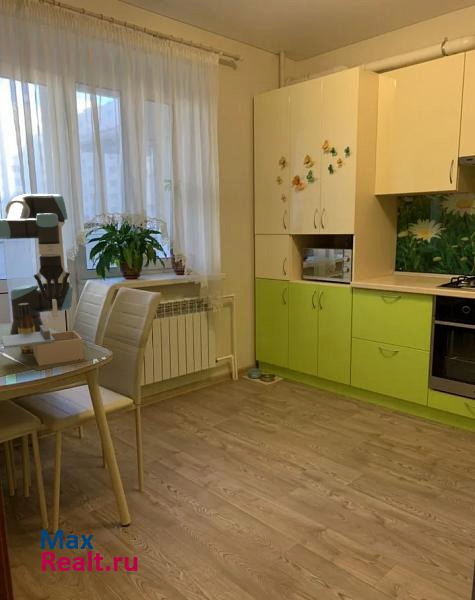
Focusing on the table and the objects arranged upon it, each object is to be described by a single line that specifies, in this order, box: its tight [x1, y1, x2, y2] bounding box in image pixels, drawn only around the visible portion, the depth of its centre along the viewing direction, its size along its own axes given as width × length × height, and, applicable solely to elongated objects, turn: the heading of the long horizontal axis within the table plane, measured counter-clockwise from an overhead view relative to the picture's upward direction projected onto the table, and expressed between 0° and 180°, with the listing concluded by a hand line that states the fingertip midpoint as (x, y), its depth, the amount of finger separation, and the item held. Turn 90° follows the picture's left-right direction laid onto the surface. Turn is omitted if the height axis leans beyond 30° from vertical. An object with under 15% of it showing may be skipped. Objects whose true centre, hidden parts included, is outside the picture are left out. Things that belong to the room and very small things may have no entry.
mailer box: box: [32, 329, 85, 367], centre depth 182 cm, size 16×16×8 cm
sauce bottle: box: [18, 303, 35, 354], centre depth 190 cm, size 7×6×20 cm
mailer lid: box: [0, 324, 55, 349], centre depth 176 cm, size 17×17×4 cm
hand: (55, 316), depth 181 cm, fingers closed
